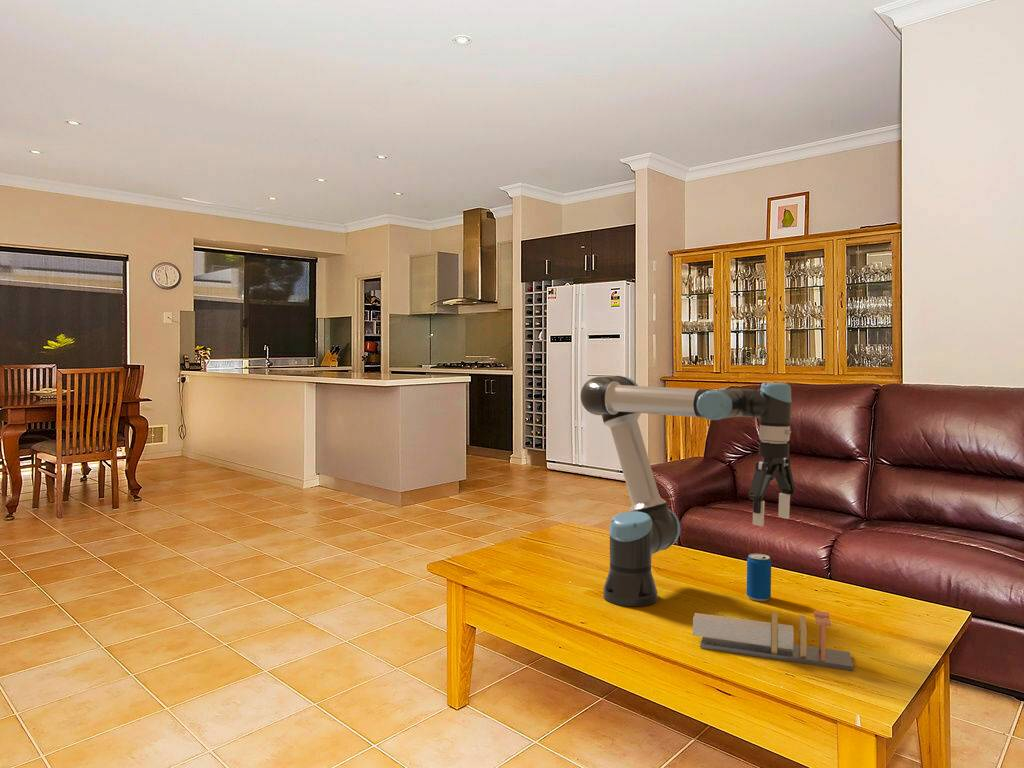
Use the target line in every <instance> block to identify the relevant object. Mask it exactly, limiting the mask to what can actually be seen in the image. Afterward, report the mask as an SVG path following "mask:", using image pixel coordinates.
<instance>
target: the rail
mask: <svg viewBox="0 0 1024 768" xmlns="http://www.w3.org/2000/svg"><path fill="white" fill-rule="evenodd" d="M771 623H772V645H771V646H764V645H757V644H750V643H743V642H736V641H729V640H722V639H715V638H708V637H701V642H700V649H703V650H710V651H717V652H725V653H732V654H737V655H744V656H752V657H757V658H764V659H771V660H776V661H783V662H791V663H798V664H804V665H811V666H817V667H824V668H829V669H830V668H832V669H836V670H837V669H838V670H844V671H850V672H851V671H852V672H853V671H854V668H855V667H854V663H853V660H852V656H851V652H850V651H846V650H841V649H833V648H826V647H825V661H821V650H819V646H811V645H807V639H808V638H807V633H808V632H807V630H808V629H807V620H806V616H805V615H799V624H798V625H799V627H798V628H799V629H798V630H799V631H798V644H796V643H793V650H792V649H785V648H777V630H778V624H779V623H778V612H776V611H771Z"/></svg>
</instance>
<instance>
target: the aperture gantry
mask: <svg viewBox="0 0 1024 768" xmlns="http://www.w3.org/2000/svg"><path fill="white" fill-rule="evenodd" d="M813 615H814V617H815V619H814V620H815V621H814V622H815V625H818V647H819V650H821V661H825V648H826V632H827V631H826V626H827V627H832V622H831V619H830V613H829V611H822V610H821V611H820V610H813Z"/></svg>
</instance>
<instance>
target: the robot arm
mask: <svg viewBox="0 0 1024 768" xmlns="http://www.w3.org/2000/svg"><path fill="white" fill-rule="evenodd" d="M579 396H580V402H581V405H582V406H583V408H584V409H585V410H586V411H587V413H589V414H592V415H595V416H601V418H602V421H603V425H605V426H607V427H608V428H610V431H611V432H610V433H611V436H612V439H613V442H614V445H615V449H616V453H617V458H618V459H619V463H620V466H621V467H620V468H621V470H622V474H623V478H624V481H625V485H626V488H627V491H628V495H629V498H630V503H631V506H630V507H629V509H628V511H627V512H625V511H624V512H623V511H622V512H620V513H617V514H615V515H614V516H613V517H612V518H611V519H610V523H609V524H610V525H609V531H608V532H609V570H608V573H607V577H606V580H605V583H604V585H603V589H602V590H603V591H602V592H603V593H602V594H603V598H604V600H605V601H607V602H609V603H611V604H615V605H618V606H625V607H646V606H651V605H653V604H655V603H656V602H658V590H657V585H656V582H655V579H654V577H653V572H652V555H654V554H657V553H659V552H661V551H664V550H665V551H666V550H667V549H669V548H670V547H671V546H673V545H674V544H675V543H676V542H677V541H678V539H679V537H680V534H681V524H680V520H679V517H678V516H677V514H676V513H675V512H673V511H672V510H671V509H669V506H668V503H667V500H665V499H663V498H662V497H661V496H660V493H659V489H658V487H657V486H658V485H657V483H656V480H655V477H654V472H653V469H652V467H651V463H650V459H649V456H648V453H647V449H646V445H645V441H644V439H643V435H642V431H641V429H640V425H639V421H638V420H639V418H640V416H641V414H649V415H663V416H677V417H689V418H691V417H692V418H701V419H706V420H710V421H720V420H723V419H729V418H730V419H731V418H738V417H742V418H743V417H744V418H753V419H754V418H758V419H759V429H758V430H759V431H758V434H759V435H758V439H759V440H760V441H759V442H758V455H759V456H760V457H763V460H762V461H760V460H759V461H756V462H755V470H754V473H753V477H752V480H751V484H750V487H749V490H748V491H749V492H748V499H749V500H752V502H753V503H752V505H753V506H752V523H751V524H752V525H754V526H758V527H761V528H762V527H765V526H764V525H765V503H766V502H765V500H763V499H764V497H765V495H766V493H767V490H768V488H769V486H770V485H771V484H770V483H771V481H773V480H774V479H775V480H776V482H777V485H778V487H779V490H780V492H779V493H778V513H777V514H778V516H777V517H778V518H781V519H786V520H788V519H790V509H791V506H790V505H791V504H790V503H791V495H795V490H796V486H795V482H794V477H793V472H792V467H791V458H789V457H790V445H791V444H789V441H790V439H791V438H790V437H791V434H792V431H791V414H792V413H791V412H792V403H793V402H792V401H793V400H792V387H791V385H790V384H788V383H784V382H783V383H782V382H763V383H761V385H760V389H747V388H737V387H736V388H734V387H725V388H724V387H721V388H719V389H709V388H708V389H707V388H702V389H701V388H689V387H686V388H685V387H683V388H682V387H668V386H667V387H666V386H665V387H663V386H649V385H647V386H646V385H645V386H644V385H638V383H636V382H635V380H634V379H632V378H630V377H627V376H622V375H621V376H620V375H615V376H596V377H592V378H590V379H589V380H587V381H586V382H585V383H584V385H582V388H581V390H580V395H579Z"/></svg>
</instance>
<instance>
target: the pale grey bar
mask: <svg viewBox="0 0 1024 768" xmlns="http://www.w3.org/2000/svg"><path fill="white" fill-rule="evenodd" d="M794 633H795V632H794V625H790V624H783V623H778V630H777V648H785V649H792V650H793V644H794V639H795V638H794V635H795V634H794ZM692 636H693V637H694V636H696V637H701V638H702V637H708V638H715V639H722V640H729V641H736V642H743V643H750V644H757V645H764V646H771V645H772V622H767V621H761V620H753V619H752V620H751V619H744V618H737V617H729V616H722V615H716V614H715V615H713V614H707V613H698V612H694V615H693V618H692Z"/></svg>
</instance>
